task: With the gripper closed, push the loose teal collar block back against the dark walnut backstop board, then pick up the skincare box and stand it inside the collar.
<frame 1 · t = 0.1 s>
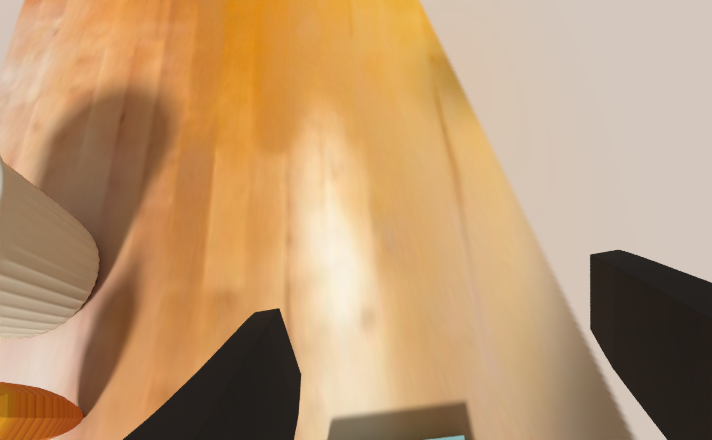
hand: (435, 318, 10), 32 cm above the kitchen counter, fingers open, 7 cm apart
canister: (55, 281, 50), on the kitchen counter
carrot: (82, 417, 43), on the kitchen counter
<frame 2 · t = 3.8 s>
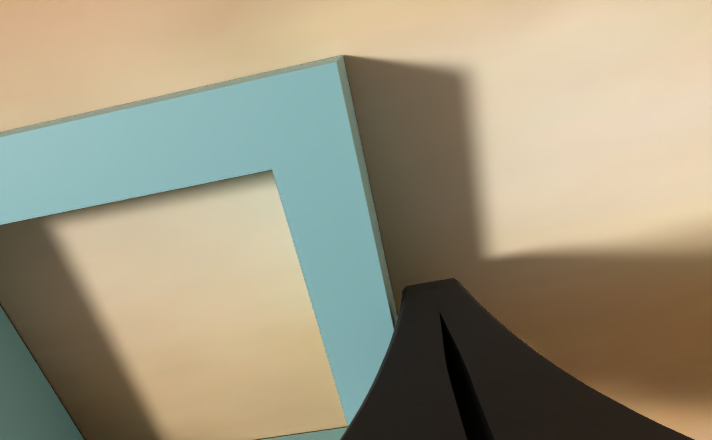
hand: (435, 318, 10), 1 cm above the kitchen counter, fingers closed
collar block: (178, 329, 12), on the kitchen counter, touching gripper
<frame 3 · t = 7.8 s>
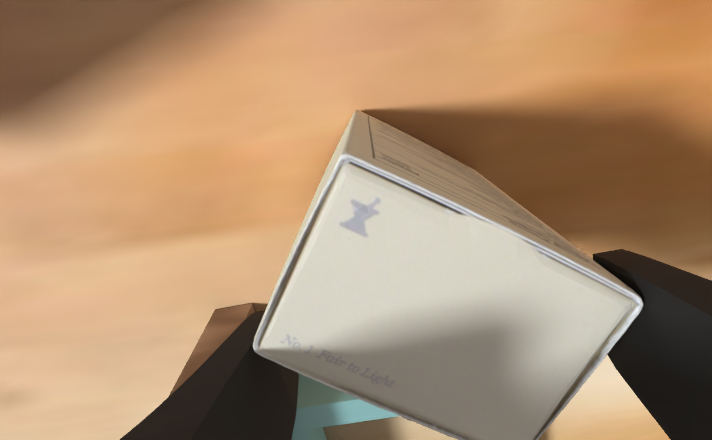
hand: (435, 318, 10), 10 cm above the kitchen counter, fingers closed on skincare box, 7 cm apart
collar block: (403, 438, 26), on the kitchen counter
skincare box: (398, 180, 20), on the kitchen counter, touching gripper
when the fingers open (7 cm above the kitchen counter, at t = 14.1 s): skincare box stays where it is, resting in collar block.
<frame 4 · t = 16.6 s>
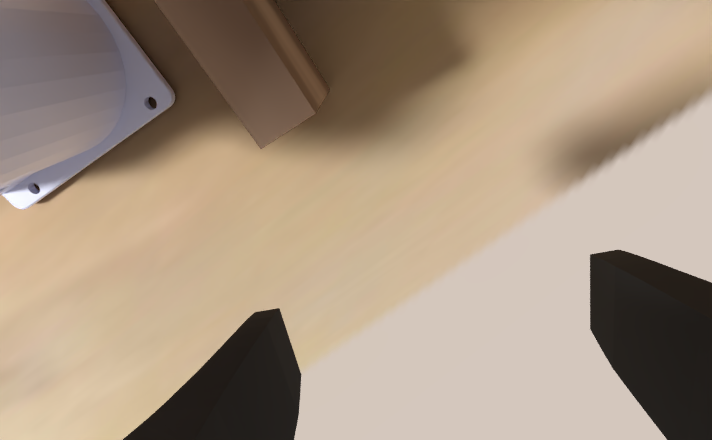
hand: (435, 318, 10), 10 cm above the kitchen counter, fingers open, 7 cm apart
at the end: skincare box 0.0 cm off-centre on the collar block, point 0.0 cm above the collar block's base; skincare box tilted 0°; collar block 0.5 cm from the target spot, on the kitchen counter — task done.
